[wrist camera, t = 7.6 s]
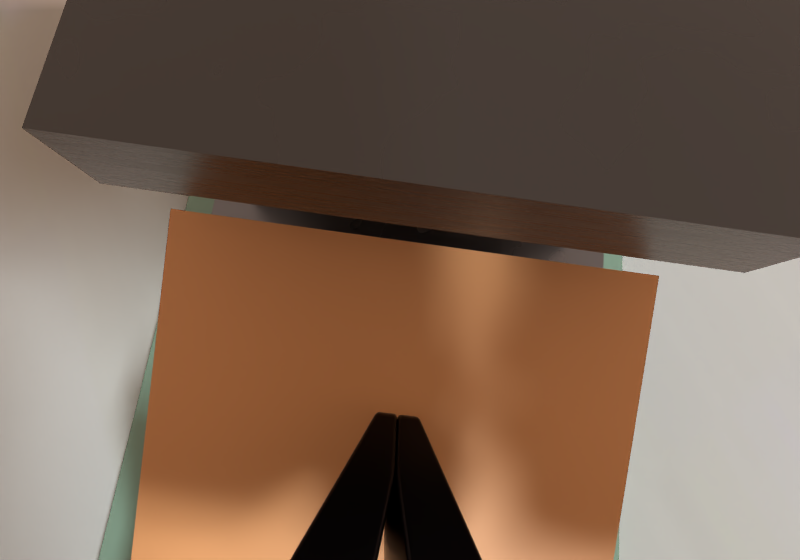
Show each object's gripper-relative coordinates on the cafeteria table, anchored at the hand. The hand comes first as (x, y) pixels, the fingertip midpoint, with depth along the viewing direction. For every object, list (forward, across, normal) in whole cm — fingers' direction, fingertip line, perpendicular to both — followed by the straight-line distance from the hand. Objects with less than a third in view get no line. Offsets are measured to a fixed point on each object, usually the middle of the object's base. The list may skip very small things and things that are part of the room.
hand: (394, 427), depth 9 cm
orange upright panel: (-2, 0, +7) cm, 7 cm away
